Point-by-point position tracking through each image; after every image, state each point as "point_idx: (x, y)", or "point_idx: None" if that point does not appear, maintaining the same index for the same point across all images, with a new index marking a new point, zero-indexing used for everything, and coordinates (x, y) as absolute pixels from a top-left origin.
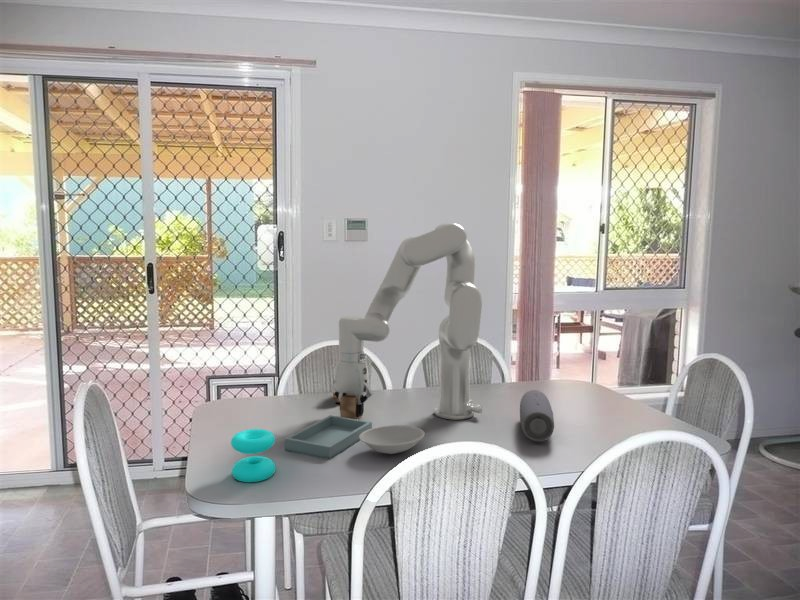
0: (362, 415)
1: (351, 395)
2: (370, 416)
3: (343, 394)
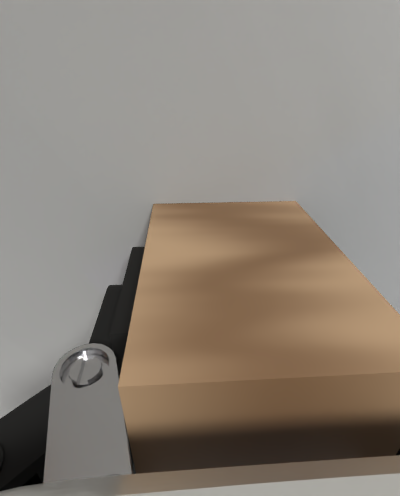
0: (300, 209)
1: (254, 449)
2: (360, 156)
3: (80, 442)
